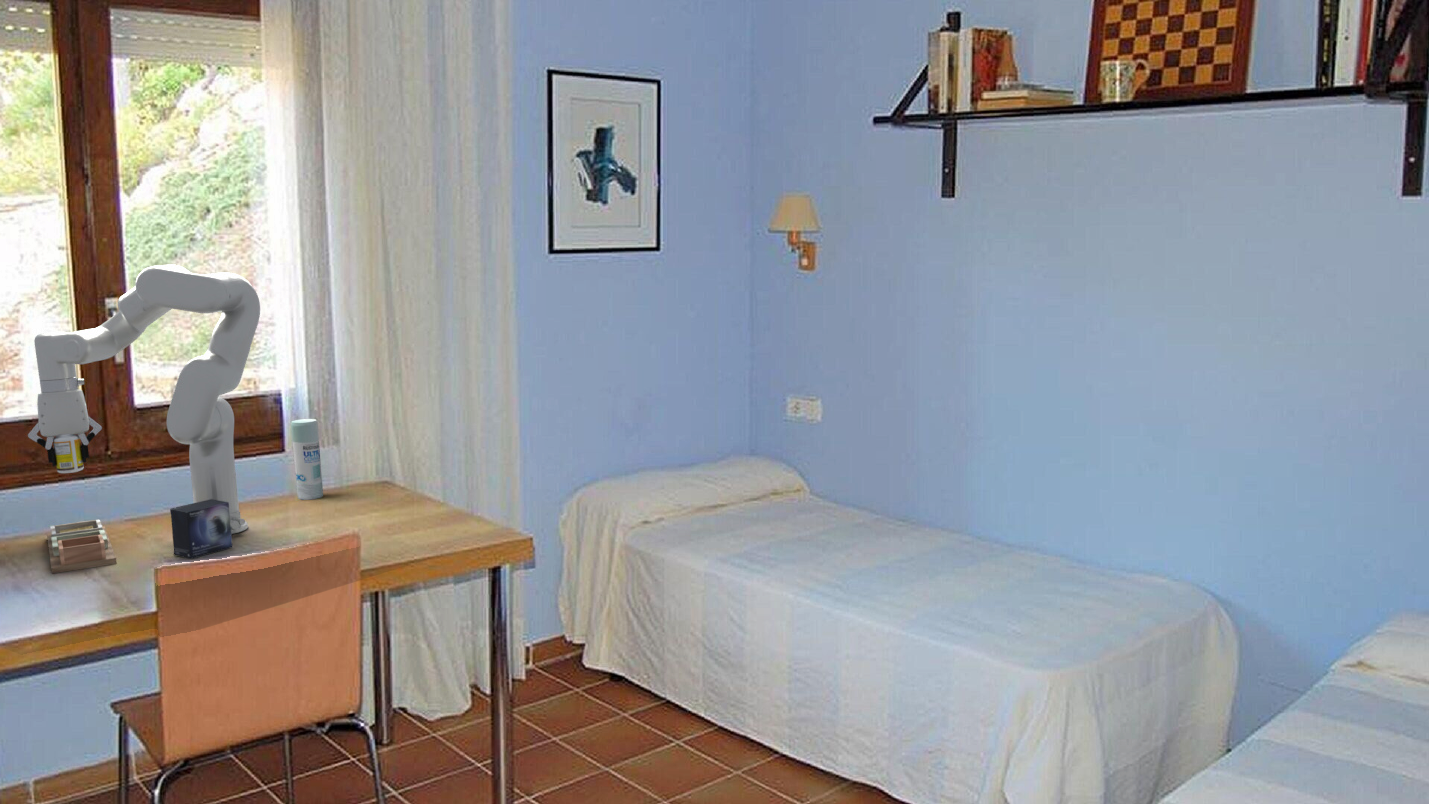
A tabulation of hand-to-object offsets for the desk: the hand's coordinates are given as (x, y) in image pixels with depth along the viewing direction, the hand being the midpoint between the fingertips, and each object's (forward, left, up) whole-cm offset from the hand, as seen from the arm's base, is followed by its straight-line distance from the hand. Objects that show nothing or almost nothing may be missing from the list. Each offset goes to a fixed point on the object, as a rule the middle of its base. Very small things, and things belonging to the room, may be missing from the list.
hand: (69, 462), depth 281 cm
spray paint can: (-16, -52, -17) cm, 57 cm away
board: (-16, +7, -17) cm, 25 cm away
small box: (-42, -7, -17) cm, 46 cm away
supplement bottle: (0, 0, -2) cm, 2 cm away
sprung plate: (-7, +3, -15) cm, 17 cm away
